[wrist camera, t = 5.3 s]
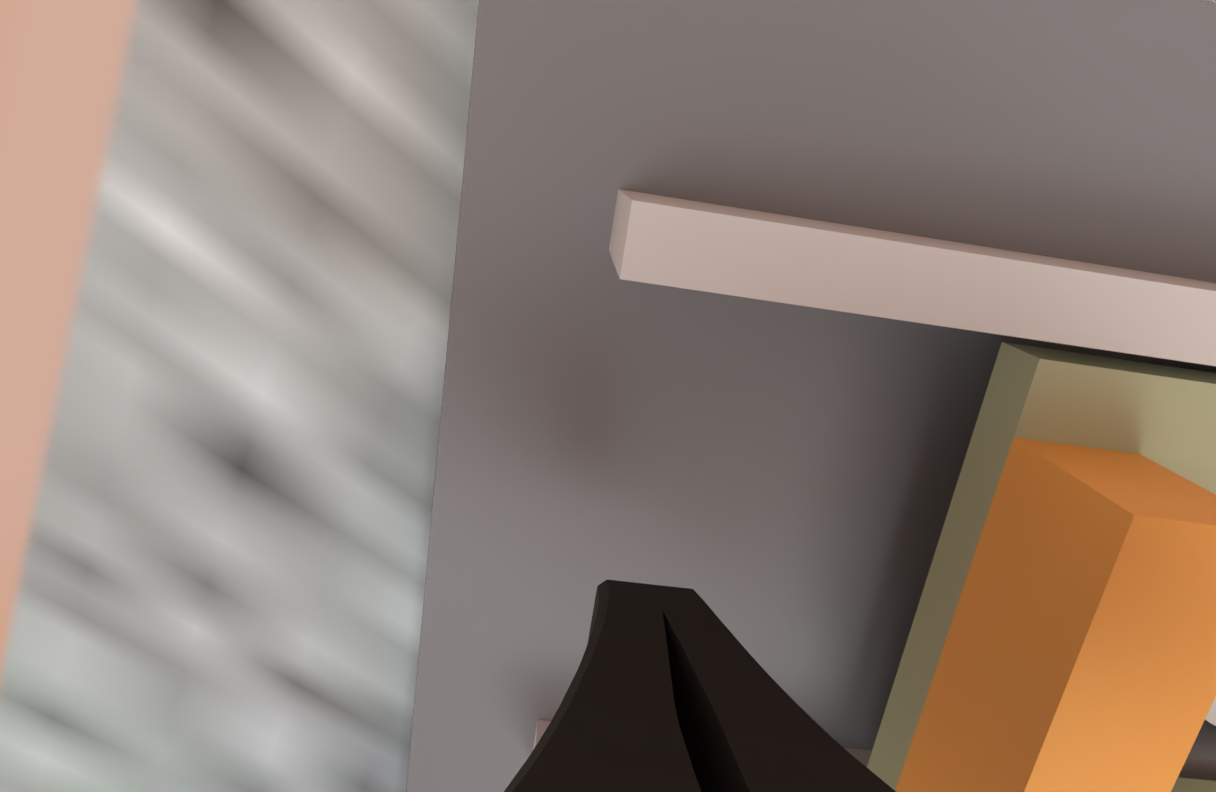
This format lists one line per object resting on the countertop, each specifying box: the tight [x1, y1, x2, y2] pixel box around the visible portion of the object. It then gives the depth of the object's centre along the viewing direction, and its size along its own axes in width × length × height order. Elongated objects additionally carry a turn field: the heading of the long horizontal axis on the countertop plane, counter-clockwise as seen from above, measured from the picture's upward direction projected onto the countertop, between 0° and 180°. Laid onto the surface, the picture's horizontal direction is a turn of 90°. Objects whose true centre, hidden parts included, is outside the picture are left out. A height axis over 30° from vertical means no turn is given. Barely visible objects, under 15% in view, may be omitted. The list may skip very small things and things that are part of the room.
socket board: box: [406, 0, 1216, 792], centre depth 14 cm, size 20×25×4 cm
